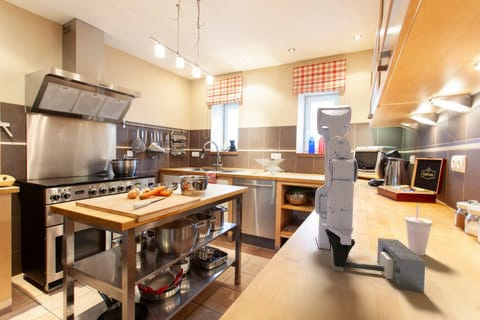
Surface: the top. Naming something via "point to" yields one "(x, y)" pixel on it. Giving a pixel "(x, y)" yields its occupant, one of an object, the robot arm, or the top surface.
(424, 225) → the smoothie
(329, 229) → the robot arm
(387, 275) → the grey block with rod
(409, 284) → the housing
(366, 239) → the top surface
